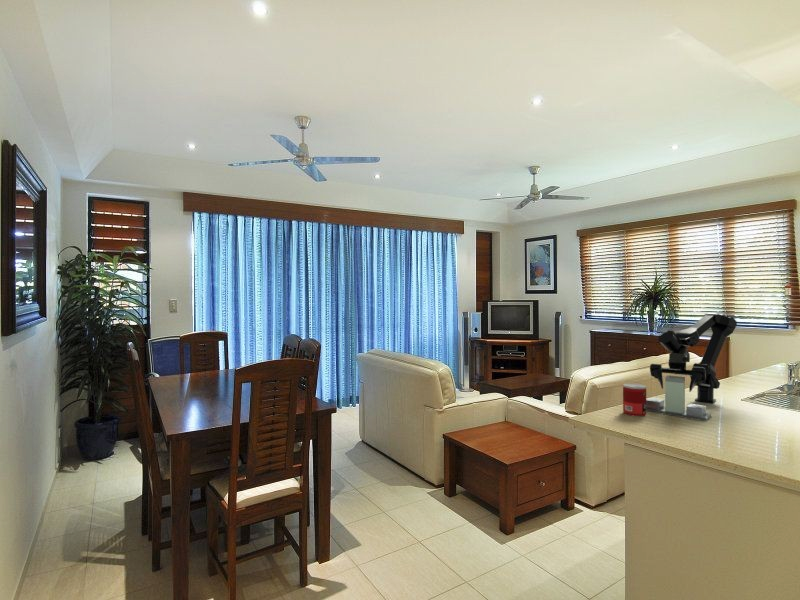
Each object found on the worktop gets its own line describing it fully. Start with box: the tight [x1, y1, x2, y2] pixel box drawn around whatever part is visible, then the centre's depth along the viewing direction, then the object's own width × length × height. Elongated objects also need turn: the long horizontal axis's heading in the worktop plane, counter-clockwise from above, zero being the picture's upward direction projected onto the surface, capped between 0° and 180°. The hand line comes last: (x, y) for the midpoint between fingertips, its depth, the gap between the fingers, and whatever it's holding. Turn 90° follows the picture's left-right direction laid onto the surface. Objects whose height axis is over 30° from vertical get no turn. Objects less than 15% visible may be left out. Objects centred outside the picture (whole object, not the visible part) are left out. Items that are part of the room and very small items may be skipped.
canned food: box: [622, 382, 647, 417], centre depth 172 cm, size 8×8×11 cm
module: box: [664, 374, 686, 413], centre depth 172 cm, size 5×6×13 cm
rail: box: [646, 397, 712, 421], centre depth 172 cm, size 8×22×4 cm, turn 44°
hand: (675, 389), depth 173 cm, fingers open, 9 cm apart
